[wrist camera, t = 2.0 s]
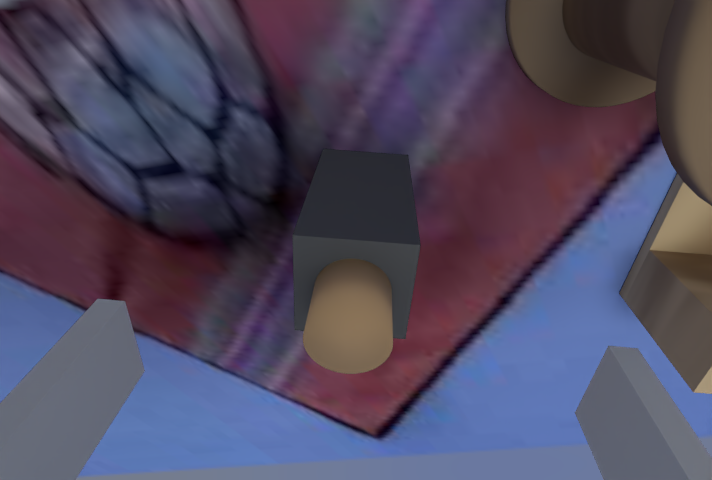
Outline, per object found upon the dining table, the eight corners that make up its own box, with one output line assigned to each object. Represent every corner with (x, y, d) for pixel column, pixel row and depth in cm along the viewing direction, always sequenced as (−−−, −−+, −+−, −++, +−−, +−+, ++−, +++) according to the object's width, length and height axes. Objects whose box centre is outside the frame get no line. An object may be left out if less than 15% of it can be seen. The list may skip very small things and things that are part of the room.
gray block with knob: (321, 222, 22) (281, 383, 13) (323, 148, 20) (275, 281, 11) (398, 228, 22) (408, 394, 13) (407, 155, 20) (427, 293, 11)
